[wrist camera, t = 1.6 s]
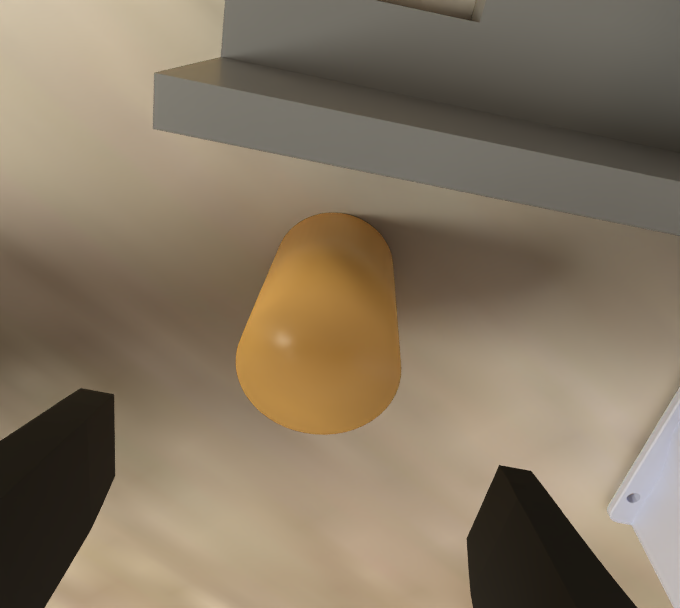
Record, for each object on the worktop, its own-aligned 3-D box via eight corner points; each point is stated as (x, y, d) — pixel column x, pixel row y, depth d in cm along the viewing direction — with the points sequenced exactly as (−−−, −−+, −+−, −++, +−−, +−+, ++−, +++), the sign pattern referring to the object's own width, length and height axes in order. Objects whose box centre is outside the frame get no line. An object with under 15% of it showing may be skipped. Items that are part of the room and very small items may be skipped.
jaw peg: (379, 329, 19) (380, 446, 14) (268, 309, 19) (228, 418, 14) (405, 225, 17) (419, 315, 12) (283, 201, 17) (244, 281, 12)
